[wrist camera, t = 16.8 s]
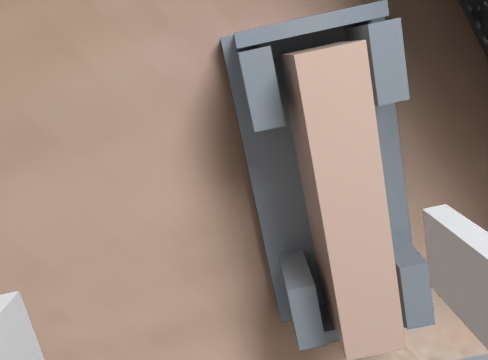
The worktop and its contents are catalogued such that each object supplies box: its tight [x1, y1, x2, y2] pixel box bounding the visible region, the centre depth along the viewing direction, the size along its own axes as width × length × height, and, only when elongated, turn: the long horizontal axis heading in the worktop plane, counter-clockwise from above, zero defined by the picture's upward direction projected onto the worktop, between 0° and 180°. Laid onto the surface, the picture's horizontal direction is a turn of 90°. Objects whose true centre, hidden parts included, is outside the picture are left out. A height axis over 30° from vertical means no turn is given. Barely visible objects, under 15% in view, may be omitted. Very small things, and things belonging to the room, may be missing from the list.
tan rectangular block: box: [278, 40, 406, 360], centre depth 32 cm, size 4×20×9 cm, turn 12°
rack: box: [220, 0, 435, 351], centre depth 35 cm, size 12×24×8 cm, turn 12°
